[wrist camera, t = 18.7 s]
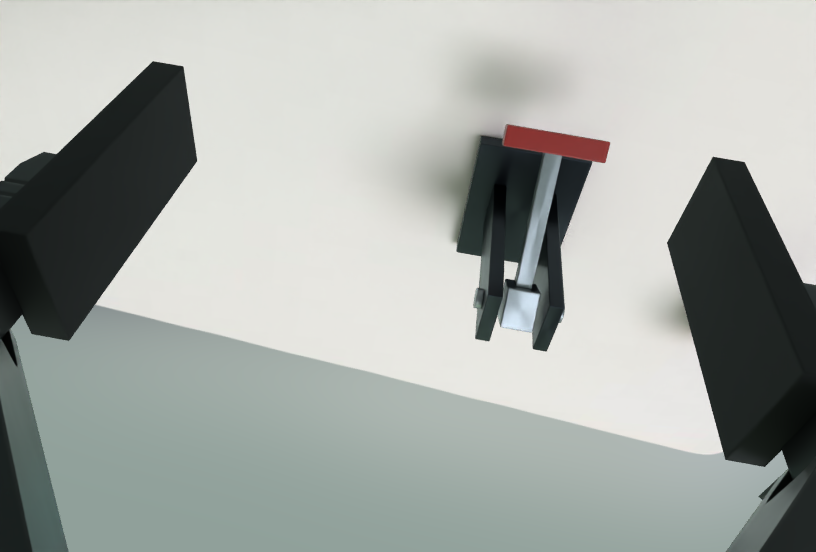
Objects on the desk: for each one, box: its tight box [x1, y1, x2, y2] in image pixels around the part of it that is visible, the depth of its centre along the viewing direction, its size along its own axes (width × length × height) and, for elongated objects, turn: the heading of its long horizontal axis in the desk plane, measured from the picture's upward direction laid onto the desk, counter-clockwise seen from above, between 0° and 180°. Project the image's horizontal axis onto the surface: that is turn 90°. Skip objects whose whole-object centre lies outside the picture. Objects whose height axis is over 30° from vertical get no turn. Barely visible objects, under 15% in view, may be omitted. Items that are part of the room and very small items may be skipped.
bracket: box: [457, 136, 592, 351], centre depth 46 cm, size 11×8×14 cm
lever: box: [498, 124, 610, 332], centre depth 41 cm, size 13×6×2 cm, turn 174°
